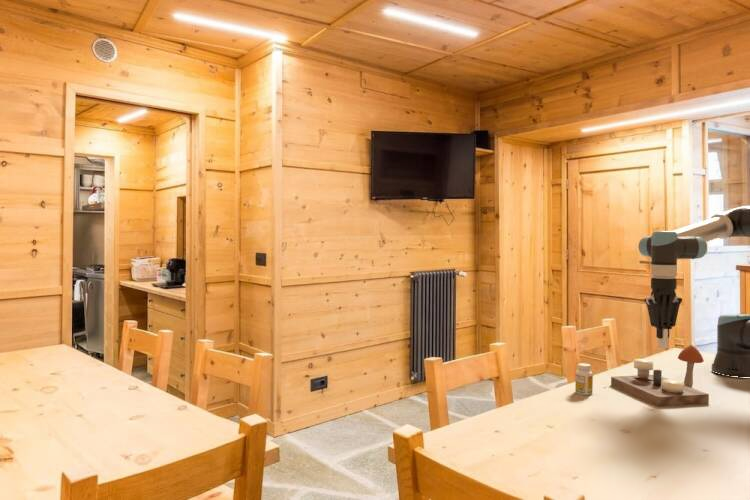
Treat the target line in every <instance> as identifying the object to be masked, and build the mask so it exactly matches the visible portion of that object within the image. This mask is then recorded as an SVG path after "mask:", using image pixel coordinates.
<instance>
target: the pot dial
mask: <svg viewBox="0 0 750 500" xmlns="http://www.w3.org/2000/svg"><path fill="white" fill-rule="evenodd" d="M652 373H653V374H652V375H653V385H655V386H661V377H662V370H661V369H660V368H658V369H657V368H656V369H655V368H653V371H652Z"/></svg>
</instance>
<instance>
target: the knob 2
mask: <svg viewBox="0 0 750 500" xmlns="http://www.w3.org/2000/svg"><path fill="white" fill-rule="evenodd" d="M683 385H684V381H683V382H682V381H681V380H677V379H676V380H675V379H669V380H662V389H663V390H665V391H666V392H668V393H671V394H674V393H679V392H683Z"/></svg>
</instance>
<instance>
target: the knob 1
mask: <svg viewBox="0 0 750 500" xmlns="http://www.w3.org/2000/svg"><path fill="white" fill-rule="evenodd" d="M633 368H634V369H637V375H638V377H641V378H649V375H650V371H654V361H653V360H650V359H645V358H636V359H633Z"/></svg>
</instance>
